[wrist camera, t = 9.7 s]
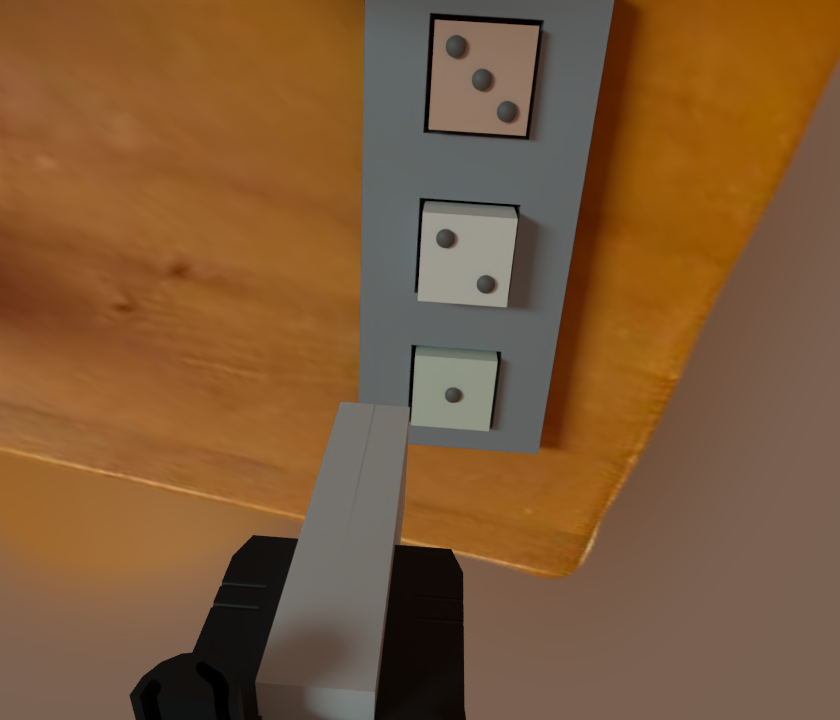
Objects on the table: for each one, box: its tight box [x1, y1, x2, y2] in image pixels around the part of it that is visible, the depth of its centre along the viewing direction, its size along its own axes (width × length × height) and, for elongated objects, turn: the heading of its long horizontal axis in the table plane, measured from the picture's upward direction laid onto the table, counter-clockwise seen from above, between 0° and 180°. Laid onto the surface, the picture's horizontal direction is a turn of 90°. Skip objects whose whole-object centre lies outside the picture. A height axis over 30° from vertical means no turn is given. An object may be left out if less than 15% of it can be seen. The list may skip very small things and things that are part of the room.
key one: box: [411, 345, 498, 431], centre depth 41 cm, size 5×5×3 cm
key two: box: [418, 201, 518, 307], centre depth 36 cm, size 5×5×3 cm
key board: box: [359, 0, 614, 454], centre depth 38 cm, size 27×12×2 cm, turn 177°
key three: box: [429, 20, 539, 136], centre depth 33 cm, size 5×5×3 cm
